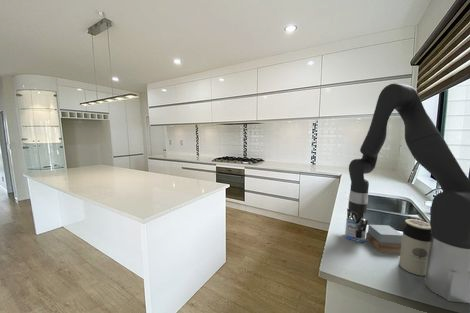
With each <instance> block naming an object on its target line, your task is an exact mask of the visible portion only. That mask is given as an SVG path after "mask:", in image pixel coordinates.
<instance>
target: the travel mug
mask: <svg viewBox="0 0 470 313" xmlns="http://www.w3.org/2000/svg"><path fill="white" fill-rule="evenodd" d="M404 222H405V226H404V227H403V229H402V235H403V236H402V244H401V251H400V253H399V260H398V264H399V266H400V267H401V268H402V269H403V270H405V271H407V272H409V273H411V274H413V275H416V276H417V275H418V276H426V270H427V263H428V256H429V250H430V243H431V237H432V229H431V227H430V222H429V223H428V222H425V221H423V220H419V219H414V218H409V219H405V220H404Z"/></svg>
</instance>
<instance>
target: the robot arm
mask: <svg viewBox="0 0 470 313" xmlns="http://www.w3.org/2000/svg"><path fill="white" fill-rule="evenodd" d="M394 111H396V112H397V114H399V116H400V118H401V120H402V121H403V124H404V140H405V144H406V146H407V148H408V150H409V152H410V153H411V155H412V157H413V158H414V160H415V161H416V162H417V163H418V164H419V165H420V166H422V167H423V168H424V169H425V170H426V171H427V172H429V173H430V175H432V177H434V179H435V180H436V182H437V183H438V185H439V187H440V189H441V190H442V191H441V192H438V193H437V194H436V195H435V196H433V199H432V201H431V208H430V216H429V217H430V219H429V224H430V227H431V229H432V230H431V233H432V237H431V243H430V250H429V256H428V263H427V270H426V275H425V279H424V284H425V286H426V287H427V288H428V289H429V290H430V291H431V292H433V293H434V294H436V295H437V294H438V296H440V297H441V298H442V299H445V300H446V301H447V302H455V303H465V304H470V179H469V178H468V176H467V175H466V173H465V172H464V170H463V169H462V168H461V165H460V164H459V162H458V161H457V159H456V157H455V155H454V154H453V152H452V151H451V149H450V147H449V145H448V143H447V142H446V140H445V139H444V137H443V136H442V134H441V132H440V131H439V129H438V128H437V127H436V125H435V123H434V122H433V120H432V119H431V118H430V116H429V115H428V112H427V111H426V109H425V107H424V105H423V102H422V101H421V98H420V95H419V93H418V91H417V89H416V88H414V87H413V86H410V85H409V84H401V83H395V82H394V83H390V84H388V85H386V86H384V88H383V89H381V91H380V93H379V95H378V98H377V101H376V105H375V109H374V112H373V114H372V118H371V123H370V125H369V128H368V131H367V134H366V136H365V138H364V140H363V142H362V144H361V146H360V149H359V151H360V153H361V154H362V156H361V157H360V158H355V159H353V160H351V161H350V163H349V165H348V174H349V179H350V190H349V195H348V205H347V207H348V208H347V209H346V211H347V212H346V213H347V214H346V215H347V216H346V219H347V218H348V219H352V220H354V223H355V225H356V238H361V236H362V231H366V232H367V228H368V227H367V226H368V224H369V223H368V222H369V221H368V219H365V217H364V214H365V213H367V211H368V203H369V186H370V184H369V180H367V179H365V176H364V175H367V174H370V173H371V172H372V171H374V169H375V168H376V166H377V161H378V156H379V153H380V151H381V150H382V147H383V146H384V143H385V142H386V138H387V128H388V122H389V120H390V117H391V115H392V113H393V112H394ZM357 222H359V223H360V224H358V223H357ZM358 225H359V227H358Z"/></svg>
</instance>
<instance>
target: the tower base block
mask: <svg viewBox="0 0 470 313" xmlns="http://www.w3.org/2000/svg"><path fill="white" fill-rule="evenodd" d="M365 240H366V241H367V242H368V243H369V244H371V246H372V247H374V249H375V250H377V251H378V252H379V253H390V254H391V253H392V254H400V251H401V244H388V243H380V242H378V241H377V240H376V239H375V238H374V237H373V236H371V235H370V234H369V233H368V231H366V234H365Z"/></svg>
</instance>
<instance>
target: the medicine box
mask: <svg viewBox="0 0 470 313" xmlns="http://www.w3.org/2000/svg"><path fill="white" fill-rule="evenodd" d="M357 223H358V224H360V223H359V222H357ZM358 227H359V225H358ZM344 232H345V234H344V235H345V238H346V239H349V240H353V241H357V242H362V243H365V240H366V232H367V230H366V231H362V236H361V238H356V225H355V223H354V220H352V219H348V218H347V217H346V221H345V231H344Z"/></svg>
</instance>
